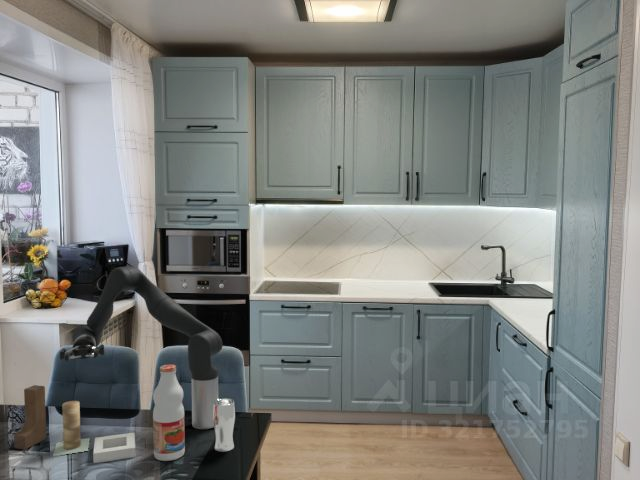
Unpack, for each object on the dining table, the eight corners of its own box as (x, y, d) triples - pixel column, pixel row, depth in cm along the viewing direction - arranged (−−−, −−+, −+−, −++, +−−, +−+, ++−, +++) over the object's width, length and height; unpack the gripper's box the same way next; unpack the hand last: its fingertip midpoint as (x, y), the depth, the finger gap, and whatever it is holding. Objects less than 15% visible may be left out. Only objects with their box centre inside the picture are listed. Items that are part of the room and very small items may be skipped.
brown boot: (25, 450, 171) (23, 394, 170) (13, 448, 173) (12, 393, 172) (46, 438, 180) (45, 385, 179) (36, 437, 181) (34, 384, 180)
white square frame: (134, 441, 178) (134, 432, 178) (135, 457, 167) (135, 447, 166) (95, 446, 174) (95, 437, 174) (93, 463, 163) (93, 453, 162)
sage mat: (89, 439, 180) (89, 437, 180) (88, 451, 170) (88, 450, 170) (56, 443, 176) (56, 442, 176) (53, 456, 167) (53, 455, 167)
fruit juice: (167, 446, 174) (165, 360, 173) (191, 451, 171) (189, 364, 169) (147, 458, 166) (145, 368, 164) (171, 464, 162) (170, 372, 160)
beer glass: (239, 444, 175) (238, 399, 174) (228, 453, 169) (228, 407, 168) (220, 441, 178) (219, 397, 177) (209, 450, 171) (208, 404, 170)
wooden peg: (81, 441, 176) (80, 400, 176) (80, 448, 172) (78, 405, 171) (64, 444, 175) (63, 401, 174) (62, 450, 170) (61, 407, 169)
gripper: (62, 338, 195) (57, 348, 179) (104, 334, 200) (103, 343, 184) (63, 358, 195) (58, 370, 180) (105, 354, 200) (104, 365, 185)
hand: (81, 356), depth 182 cm, fingers open, 8 cm apart
